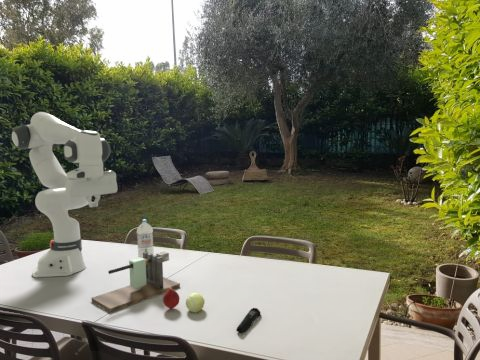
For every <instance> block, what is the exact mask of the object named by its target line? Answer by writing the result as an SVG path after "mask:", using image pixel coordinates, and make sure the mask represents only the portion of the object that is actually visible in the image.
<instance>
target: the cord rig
mask: <svg viewBox="0 0 480 360" xmlns="http://www.w3.org/2000/svg"><path fill="white" fill-rule="evenodd" d="M169 255H170V253H169V251H162V252H157V253H155V254H154V255H153V254H151V253H150V254H148V252H144V253H143V258H144V259H145V261H146V285H144V286H141V287H138V288H133V287H131V286H130V284H129V285H126V286H124V287H119V288H117V289H115V290H111V291H108V292H105V293H102V294H98V295H96V296H93V297H91V299H90V300H91V303H93V304H95V305H96V306H98V307H100V308H102V309H103V310H105V311H107V312H108V313H110V314H111V313H114V312H116V311H119V310H122V309H124V308H128V307H129V306H133V305H136V304H137V303H138V304H139V303H140V302H143V301H146V300H148V299H151V298H152V299H153V298H155V297H157V296H160V295H162V294H163V295H164V294H165V293H166V292H167V291H168V290H169V288H170V287H171V288H172V289H173V290H176V289H180V287H181V283H179V282H176V281H175V280H171V279H169V278H166V277H164V272H163V271H164V267H163V263H165V262H168V261H170V256H169ZM132 267H133V264H131V265H129V264H127V265H124V266H121V267H118V268H114V269H110V270H108V275H111V274H115V273H117V272H121V271H124V270H129V269H130V268H132Z"/></svg>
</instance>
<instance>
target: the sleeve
mask: <svg viewBox="0 0 480 360" xmlns="http://www.w3.org/2000/svg"><path fill="white" fill-rule="evenodd" d="M128 262H129V264H128V265H131V264H133V267H132V268H129V281H130V282H129V285H130V286H131V287H133V288H138V287H141V286H144V285H146V261H145V259H144V258H141V257H140V258H138V257H136V258H133V259H130V260H129V261H128Z"/></svg>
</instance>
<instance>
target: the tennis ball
mask: <svg viewBox="0 0 480 360" xmlns="http://www.w3.org/2000/svg"><path fill="white" fill-rule="evenodd" d="M204 306H205V298H204V297H203V296H202V295H201V294H200V293H198V292H193V293H190V294H189V295H188V296H187V297H186V299H185V307H186V308H187V310H188V311H190V312H191V313H194V312H195V313H198V312H200V311H201V310H202V309H203V308H204Z"/></svg>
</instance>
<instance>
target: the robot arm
mask: <svg viewBox="0 0 480 360" xmlns="http://www.w3.org/2000/svg"><path fill="white" fill-rule="evenodd" d="M11 140H12V142H13V144H14V146H15V147H16V149H19V150H28V149H30V151H29V153H28V156H29V160H30V163H31V166H32V169H33V170H34V172H35V174H36V175H37V177H38V180H39V181H40V183H41V184H42V185H43V186H44V187H46V188H47V189H44V190H41V191H38V193H37V194H36V196H35V200H34V203H35V207H36V209H37V210H38V212H39V211H40V212H41V214H44V215H45V216H46V217H47V218H48V219H49V221H50V222H51V225H52V230H53V239H51V240H50V241H49V250H48V251H46V253H44V254H43V255H41V257H40V258H39V259H38V261H37V267H35V268H34V269H33V270H32V272H31V273H32V274H31V276H32V277H33V278H47V277H50V278H51V277H66V276H67V277H68V276H71V275H73V274H75V273H78V272H81V271H84V270H85V269H86V264H85V260H84V256H83V253H82V251H83V242H82V238H81V229H80V223H79V221H78V220H77V219H75V218H73V217H70V215H69V211H70V210H75V209H81V208H83V207H85V206H88V207H89V208H98V207H99V201H100V199H101V196H102V195H108V194H115V193H117V192H118V182H117V173H116V172H115V171H113V170H104V162H106V161H107V159H108V158H109V157H110V155H111V152H112V150H111V145H110V144H109V142H108V141H107V140H106V139H105V138H103V137H101V135H100V133H99V132H98V131H96V130H90V129H89V130H82V129H79V128H77V127H75V126H72V125H70V124H68V123H66V122H64V121H62V120H60V119H59V118H57V117H56V116H55V115H52V114H50V113H48V112H45V111H39V112H36V113H34V114H33V115H32V117H30V123H29V124H21V125H20V126H16V127H15V128H14V129H13V130H12V131H11ZM59 145H63V156H64V158H65V160H66V161H68V162H70V163H73V164H78V167H77V168H75V169H73V170H71V171H68V172H65V170H64V168H63V167H62V165H61V164H60V162H59V160H58V158H57V157H56V156H55V154H54V152H53V148H54V149H56V148H58V146H59ZM93 196H94V198H95V199H94V201H92V198H93Z"/></svg>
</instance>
